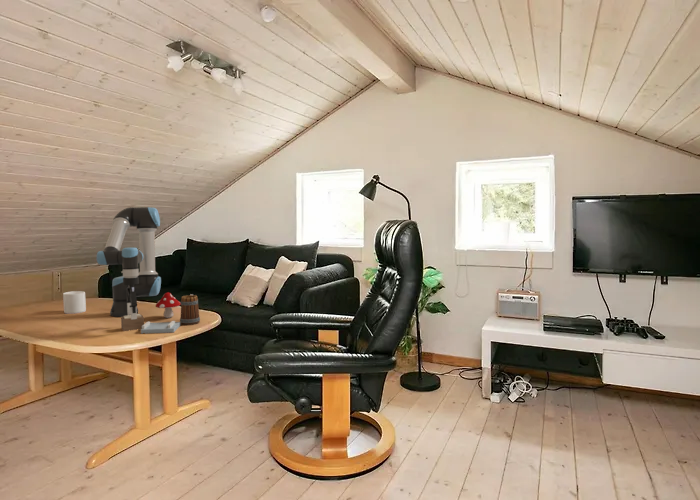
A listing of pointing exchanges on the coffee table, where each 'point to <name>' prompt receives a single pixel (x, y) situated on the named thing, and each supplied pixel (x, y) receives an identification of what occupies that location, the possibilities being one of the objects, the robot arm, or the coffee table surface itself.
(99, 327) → the coffee table surface
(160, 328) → the grey serving tray
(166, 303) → the decorative mushroom
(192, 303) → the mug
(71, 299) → the cup
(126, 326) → the brown box
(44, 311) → the coffee table surface
